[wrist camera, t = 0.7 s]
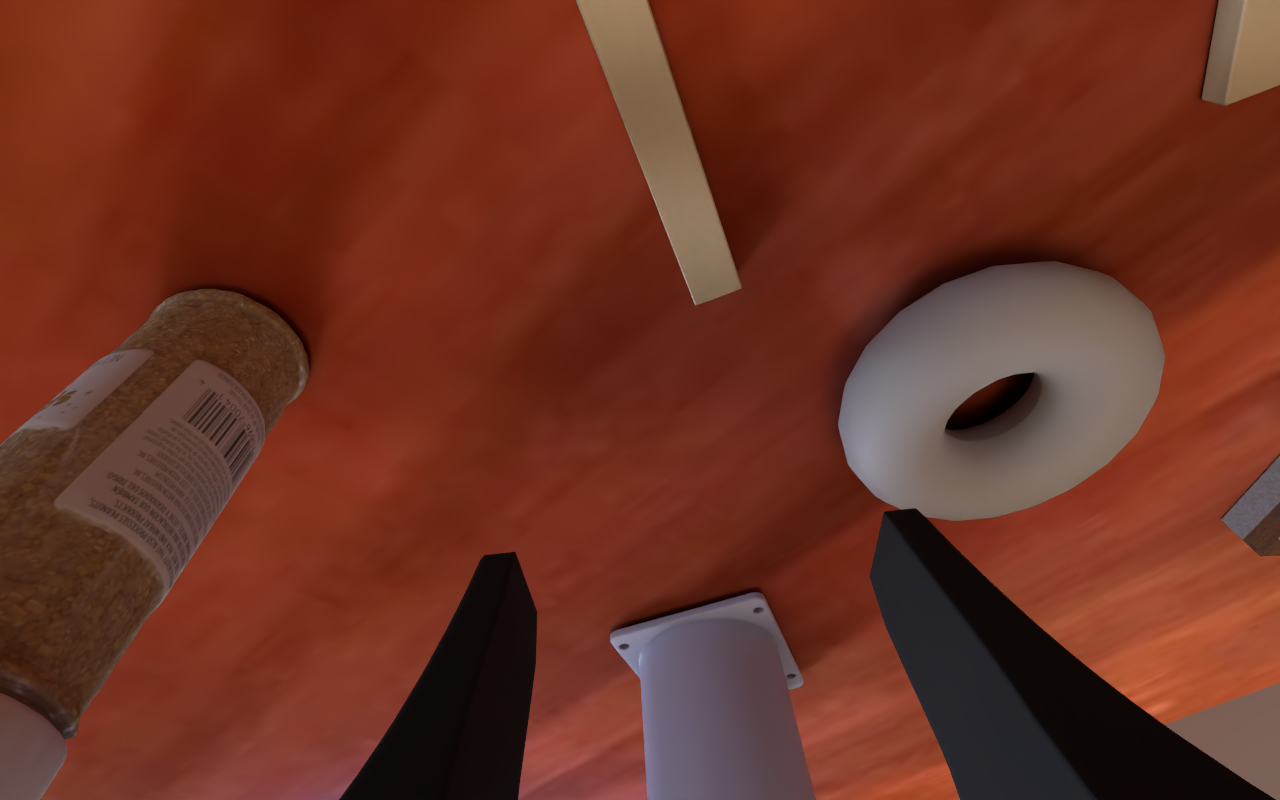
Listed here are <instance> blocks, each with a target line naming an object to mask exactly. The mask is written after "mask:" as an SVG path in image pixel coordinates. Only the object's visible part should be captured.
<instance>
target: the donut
mask: <svg viewBox="0 0 1280 800" xmlns="http://www.w3.org/2000/svg"><path fill="white" fill-rule="evenodd" d="M1164 361H1165V353H1164V349H1163V345H1162V342H1161V339H1160V336H1159V333H1158V330H1157V327H1156V324H1155V321H1154V318H1153V315H1152V312H1151V311H1150V310H1149V308H1148V307H1147V306H1146V305H1145V304H1144V303H1143V302H1142V301H1141V300H1140V299H1138V298H1137V297H1136V296H1135V295H1134V294H1132V293H1131V292H1130V291H1129V290H1127V289H1126V288H1125V287H1124V286H1123V285H1121V284H1120V283H1119V282H1118V281H1117V280H1115V279H1114V278H1113V277H1111V276H1109V275H1106V274H1103V273H1101V272H1098V271H1094V270H1090V269H1086V268H1082V267H1078V266H1074V265H1069V264H1065V263H1061V262H1057V261H1045V262H1033V263H1021V264H1010V265H999V266H992V267H989V268H986V269H983V270H980V271H978V272H975V273H972V274H969V275H966V276H964V277H961V278H958V279H955V280H952V281H950V282H947V283H944V284H942V285H941V286H939V287H937V288H936V289H934V290H933V291H931V292H930V293H928V294H926V295H925V296H923V297H922V298H920V299H919V300H917V301H915V302H914V303H912V304H911V305H909V306H908V307H906V308H905V309H903V310H901V311H900V312H899V313H898V314H897V315H896V316H895V317H894V318H893V319H892V320H891V321H890V322H889V323H888V324H887V325H886V326H885V327H884V328H883V329H882V330H881V331H880V332H879V333H878V334H877V335H876V336H875V337H874V338H873V339H872V340H871V341H870V342H869V343H868V344H867V345H866V347H865V349H864V351H863V352H862V354H861V356H860V358H859V360H858V361H857V363H856V365H855V367H854V369H853V370H852V372H851V374H850V376H849V378H848V379H847V381H846V384H845V388H844V392H843V398H842V404H841V409H840V415H839V421H838V427H839V431H840V436H841V439H842V443H843V447H844V451H845V455H846V458H847V462H848V465H849V466H850V468H851V469H852V470H853V472H854V473H855V474H856V475H857V476H858V478H859V479H860V480H861V481H862V482H863V483H864V484H865V486H866V487H867V488H868V489H869V490H870V491H871V492H872V493H873V495H874V496H876V497H877V498H879V499H881V500H883V501H884V502H886V503H888V504H891V505H893V506H895V507H897V508H899V509H901V510H904V509H913V508H916V509H917V510H919V511H920V512H921V513H922V514H923V515H924V516H925V517H930V518H937V519H944V520H952V521H962V520H974V519H985V518H995V517H998V516H1002V515H1005V514H1009V513H1013V512H1016V511H1020V510H1023V509H1027V508H1030V507H1034V506H1036V505H1038V504H1040V503H1042V502H1044V501H1046V500H1049V499H1051V498H1053V497H1055V496H1057V495H1059V494H1061V493H1063V492H1066V491H1068V490H1070V489H1072V488H1073V487H1075V486H1076V485H1078V484H1079V483H1081V482H1082V481H1083V480H1085V479H1086V478H1088V477H1089V476H1091V475H1092V474H1094V473H1095V472H1096V471H1098V470H1099V469H1101V468H1102V467H1104V466H1105V465H1106V464H1108V463H1109V462H1110V461H1111V460H1112V459H1113V458H1114V457H1115V455H1116V454H1117V453H1118V452H1119V451H1120V450H1121V449H1122V448H1123V447H1124V446H1125V445H1126V444H1127V443H1128V442H1129V441H1130V440H1131V439H1132V438H1133V437H1134V436H1135V435H1136V434H1137V432H1138V430H1139V429H1140V427H1141V425H1142V423H1143V422H1144V420H1145V418H1146V416H1147V415H1148V413H1149V411H1150V410H1151V408H1152V406H1153V404H1154V403H1155V401H1156V398H1157V396H1158V393H1159V389H1160V383H1161V377H1162V372H1163V366H1164ZM1033 372H1034V377H1033V379H1032V382H1031V384H1030V387H1029V388H1028V389H1027V391H1026V392H1025V393H1024V394H1023V396H1022V397H1021V398H1020V399H1019V400H1018V401H1017V402H1016V403H1015V404H1013V405H1012V406H1011V407H1010V408H1008V409H1007V410H1006V411H1005V412H1004V413H1002V414H1000V415H998V416H996V417H995V418H993V419H991V420H989V421H987V422H985V423H983V424H980V425H977V426H973V427H970V428H967V429H960V430H948V429H945V427H946V423H947V421H948V419H949V418H950V416H951V415H952V414H953V412H954V411H955V409H956V408H957V407H958V406H959V405H961V404H962V403H963V402H964V401H965V400H966V399H968V398H969V397H970V396H971V395H972V394H973V393H975V392H977V391H978V390H980V389H982V388H984V387H986V386H987V385H989V384H991V383H993V382H995V381H996V380H998V379H1002V378H1005V377H1008V376H1011V375H1014V374H1021V373H1033Z"/></svg>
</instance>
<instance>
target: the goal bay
mask: <svg viewBox="0 0 1280 800" xmlns="http://www.w3.org/2000/svg"><path fill="white" fill-rule="evenodd" d="M576 2H577V4H578V7H579V10H580V12H581V15H582V17H583V20H584V22H585V25H586V27H587V30H588V33H589V35H590V38H591V40H592V43H593V45H594V48H595V50H596V53H597V56H598V58H599V61H600V63H601V66H602V68H603V71H604V74H605V76H606V79H607V81H608V84H609V86H610V89H611V91H612V94H613V97H614V99H615V102H616V104H617V107H618V109H619V112H620V114H621V117H622V120H623V122H624V125H625V127H626V130H627V132H628V135H629V137H630V140H631V143H632V145H633V148H634V150H635V153H636V155H637V158H638V160H639V163H640V166H641V168H642V171H643V173H644V176H645V178H646V181H647V184H648V186H649V189H650V191H651V194H652V196H653V199H654V201H655V204H656V207H657V209H658V212H659V214H660V217H661V219H662V222H663V224H664V227H665V230H666V232H667V235H668V237H669V240H670V242H671V245H672V247H673V250H674V253H675V255H676V258H677V260H678V263H679V265H680V268H681V270H682V273H683V276H684V278H685V281H686V283H687V286H688V288H689V291H690V294H691V296H692V299H693V301H694V304H695V305H699V304H702V303H704V302H707V301H710V300H712V299H715V298H718V297H720V296H723V295H725V294H728V293H731V292H733V291H736V290H739V289H741V288H742V285H741V282H740V279H739V276H738V273H737V270H736V267H735V264H734V261H733V258H732V255H731V252H730V248H729V245H728V242H727V239H726V236H725V233H724V230H723V227H722V224H721V221H720V218H719V215H718V212H717V209H716V206H715V203H714V200H713V197H712V193H711V190H710V187H709V184H708V181H707V178H706V175H705V172H704V169H703V166H702V163H701V160H700V157H699V154H698V151H697V148H696V145H695V142H694V138H693V135H692V132H691V129H690V126H689V123H688V120H687V117H686V114H685V111H684V108H683V105H682V102H681V99H680V96H679V93H678V90H677V87H676V83H675V80H674V77H673V74H672V71H671V68H670V65H669V62H668V59H667V56H666V53H665V50H664V47H663V44H662V41H661V38H660V35H659V32H658V28H657V25H656V22H655V19H654V16H653V13H652V10H651V7H650V4H649V1H648V0H576ZM1279 85H1280V0H1219V1H1218V7H1217V13H1216V18H1215V24H1214V30H1213V36H1212V41H1211V47H1210V53H1209V59H1208V64H1207V70H1206V76H1205V82H1204V87H1203V93H1202V100H1205V101H1208V102H1212V103H1216V104H1220V105H1229V104H1231V103H1234V102H1236V101H1239V100H1242V99H1244V98H1247V97H1250V96H1252V95H1255V94H1258V93H1260V92H1263V91H1266V90H1268V89H1271V88H1274V87H1276V86H1279Z"/></svg>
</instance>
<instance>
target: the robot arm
mask: <svg viewBox="0 0 1280 800" xmlns="http://www.w3.org/2000/svg"><path fill="white" fill-rule="evenodd" d="M870 579H871V582H872V585H873V588H874V592H875V595H876V598H877V601H878V604H879V607H880V610H881V613H882V616H883V619H884V622H885V625H886V628H887V630H888V633H889V635H890V637H891V639H892V642H893V644H894V646H895V648H896V651H897V653H898V655H899V657H900V659H901V662H902V664H903V666H904V668H905V670H906V673H907V675H908V677H909V679H910V681H911V684H912V686H913V688H914V690H915V692H916V694H917V697H918V699H919V701H920V703H921V705H922V707H923V710H924V712H925V714H926V716H927V718H928V721H929V723H930V725H931V727H932V729H933V731H934V734H935V736H936V738H937V740H938V742H939V745H940V747H941V750H942V752H943V754H944V757H945V759H946V762H947V764H948V767H949V769H950V772H951V775H952V777H953V780H954V783H955V786H956V789H957V792H958V794H959V797H960V800H1276V799H1274V798H1272V797H1271V796H1269V795H1268V794H1266V793H1264V792H1263V791H1261V790H1260V789H1258V788H1256V787H1255V786H1253V785H1252V784H1250V783H1249V782H1247V781H1246V780H1244V779H1243V778H1241V777H1240V776H1238V775H1237V774H1235V773H1234V772H1232V771H1231V770H1229V769H1228V768H1226V767H1225V766H1223V765H1222V764H1220V763H1219V762H1218V761H1216V760H1215V759H1213V758H1212V757H1210V756H1209V755H1207V754H1206V753H1204V752H1203V751H1201V750H1200V749H1198V748H1197V747H1195V746H1194V745H1192V744H1191V743H1189V742H1188V741H1186V740H1185V739H1183V738H1182V737H1180V736H1179V735H1178V734H1176V733H1175V732H1173V731H1172V730H1170V729H1169V728H1167V727H1166V726H1165V725H1163V724H1162V723H1161V722H1159V721H1158V720H1157V719H1155V718H1154V717H1152V716H1151V715H1150V714H1148V713H1147V712H1146V711H1144V710H1143V709H1142V708H1140V707H1139V706H1137V705H1136V704H1135V703H1133V702H1132V701H1131V700H1129V699H1128V698H1127V697H1125V696H1124V695H1123V694H1121V693H1120V692H1119V691H1118V690H1116V689H1115V688H1114V687H1112V686H1111V685H1110V684H1108V683H1107V682H1106V681H1105V680H1103V679H1102V678H1101V677H1099V676H1098V675H1097V674H1096V673H1094V672H1093V671H1092V670H1091V669H1089V668H1088V667H1087V666H1086V665H1084V664H1083V663H1082V662H1081V661H1080V660H1078V659H1077V658H1076V657H1075V656H1073V655H1072V654H1071V653H1070V652H1069V651H1067V650H1066V649H1065V648H1064V647H1063V646H1062V645H1060V644H1059V643H1058V642H1057V641H1056V640H1055V639H1053V638H1052V637H1051V636H1050V635H1049V634H1048V633H1046V632H1045V631H1044V630H1043V629H1042V628H1041V627H1039V626H1038V625H1037V624H1036V623H1035V622H1034V621H1033V620H1032V619H1030V618H1029V617H1028V616H1027V615H1026V614H1025V613H1024V612H1023V611H1021V610H1020V609H1019V608H1018V607H1017V606H1016V605H1015V604H1014V603H1013V602H1012V601H1011V600H1010V599H1009V598H1007V597H1006V596H1005V595H1004V594H1003V593H1002V592H1001V591H1000V590H999V589H998V588H997V587H996V586H994V585H993V584H992V583H991V582H990V581H989V580H988V579H987V578H986V577H985V576H984V575H983V574H982V573H981V572H980V571H979V570H978V569H977V568H976V567H975V566H974V565H973V564H972V563H971V562H970V561H969V560H968V559H967V558H966V557H965V556H963V555H962V554H961V553H960V552H959V551H958V550H957V549H956V548H955V547H954V546H953V545H952V544H951V543H950V542H949V541H948V540H947V539H946V538H945V536H944V535H943V534H942V533H941V532H940V531H939V530H938V529H937V528H936V527H935V526H934V525H933V524H932V523H931V522H930V521H929V520H928V519H927V518H926V517H925V516H924V515H923V514H922V513H921V512H920V511H919V510H917V509H916V508H913V509H904V510H895V511H886V512H884V514H883V519H882V523H881V528H880V532H879V537H878V541H877V546H876V550H875V555H874V559H873V564H872V568H871V573H870ZM536 636H537V611H536V608H535V605H534V602H533V600H532V597H531V594H530V591H529V589H528V586H527V583H526V580H525V577H524V575H523V572H522V569H521V566H520V564H519V561H518V558H517V555H516V552H510V553H501V554H492V555H484V557H483V558H482V559H481V560H480V562H479V564H478V566H477V568H476V571H475V573H474V575H473V577H472V579H471V581H470V584H469V586H468V588H467V590H466V592H465V594H464V596H463V598H462V600H461V602H460V604H459V606H458V608H457V610H456V612H455V614H454V616H453V618H452V620H451V622H450V624H449V626H448V628H447V630H446V632H445V633H444V635H443V637H442V639H441V641H440V643H439V644H438V646H437V648H436V650H435V652H434V654H433V655H432V657H431V659H430V661H429V663H428V665H427V666H426V668H425V670H424V672H423V673H422V675H421V677H420V678H419V680H418V682H417V683H416V685H415V687H414V688H413V690H412V692H411V693H410V695H409V697H408V698H407V700H406V702H405V703H404V705H403V707H402V708H401V710H400V712H399V713H398V715H397V716H396V718H395V720H394V721H393V723H392V724H391V726H390V727H389V729H388V730H387V732H386V734H385V735H384V737H383V738H382V740H381V741H380V743H379V744H378V746H377V747H376V749H375V750H374V752H373V753H372V754H371V756H370V757H369V759H368V760H367V762H366V763H365V765H364V766H363V767H362V769H361V770H360V772H359V773H358V775H357V776H356V778H355V779H354V780H353V782H352V783H351V784H350V786H349V787H348V788H347V790H346V791H345V792H344V794H343V795H342V797H341V798H340V799H339V800H518V794H519V784H520V777H521V770H522V762H523V755H524V748H525V740H526V733H527V726H528V718H529V711H530V704H531V696H532V689H533V681H534V673H535V665H536ZM610 642H611V644H612V645H613V646H614V647H615V649H616V650H617V651H618V652H619V653H620V655H621V656H622V657H623V658H624V660H625V661H626V662H627V663H628V664H629V666H630V667H631V668H632V669H633V670H634V672H635V673H636V674H637V675H638V676H639V678H640V679H641V695H642V713H643V730H644V748H645V765H646V783H647V800H816V798H815V794H814V790H813V786H812V782H811V778H810V774H809V770H808V766H807V762H806V758H805V754H804V750H803V746H802V743H801V739H800V735H799V731H798V727H797V723H796V719H795V715H794V711H793V707H792V703H791V699H790V695H789V691H788V690H789V689H794V688H797V687H800V686H802V684H803V683H804V682H803V678H802V675H801V673H800V671H799V668H798V666H797V664H796V662H795V660H794V658H793V656H792V654H791V652H790V649H789V647H788V645H787V643H786V641H785V639H784V637H783V635H782V633H781V630H780V628H779V626H778V624H777V622H776V620H775V618H774V616H773V614H772V611H771V609H770V607H769V605H768V603H767V601H766V599H765V597H764V595H763V594H761V593H759V592H753V593H748V594H745V595H741V596H738V597H734V598H730V599H727V600H723V601H720V602H716V603H712V604H709V605H705V606H701V607H698V608H694V609H691V610H687V611H683V612H680V613H676V614H673V615H669V616H665V617H662V618H658V619H654V620H651V621H647V622H644V623H640V624H636V625H633V626H629V627H626V628H622V629H618V630H615V631H613V632H612V633H611V635H610Z"/></svg>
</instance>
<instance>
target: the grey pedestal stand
mask: <svg viewBox="0 0 1280 800" xmlns="http://www.w3.org/2000/svg"><path fill="white" fill-rule="evenodd" d="M1221 520H1222V521H1223V522H1224V523H1225V524H1226V525H1227V526H1228V527H1229V528H1231V529H1232V530H1233V531H1234V532H1235V533H1236V534H1237V535H1238V536H1239V537H1240V538H1241V539H1242V540H1243V541H1244V542H1246V543H1247V544H1248V545H1249V546H1250V547H1251V548H1252V549H1253V550H1254V551H1255V552H1256V553H1257V554H1258V555H1260V556H1280V456H1279V457H1278V458H1277V459H1276V460H1275V462H1274V463H1273V464H1272V465H1271V466H1270V467H1269V468H1268V469H1267V470H1266V471H1265V472H1264V473H1263V475H1262V476H1261V477H1260V478H1259V479H1258V480H1257V481H1256V482H1255V483H1254V484H1253V485H1252V486H1251V488H1250V489H1249V490H1248V491H1247V492H1246V493H1245V494H1244V495H1243V496H1242V497H1241V498H1240V500H1239V501H1238V502H1237V503H1236V504H1235V505H1234V506H1233V507H1232V508H1231V509H1230V510H1229V511H1228V513H1227V514H1226V515H1225V516H1224V517H1223V518H1222V519H1221Z"/></svg>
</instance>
